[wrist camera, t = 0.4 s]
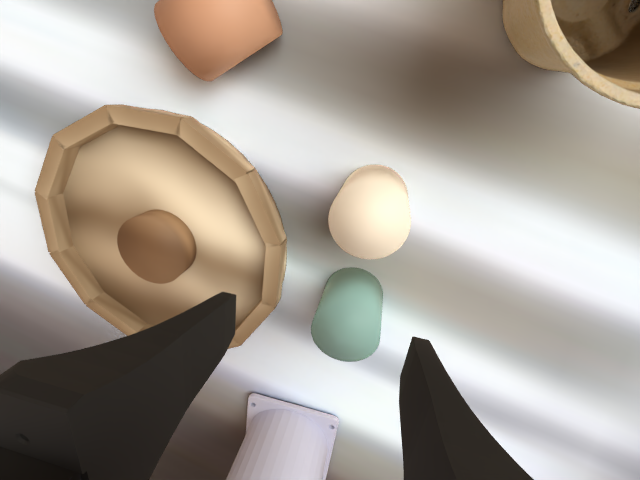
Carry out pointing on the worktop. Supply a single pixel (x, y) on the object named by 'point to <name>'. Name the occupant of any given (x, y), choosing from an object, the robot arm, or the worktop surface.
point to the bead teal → (349, 315)
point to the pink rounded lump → (216, 32)
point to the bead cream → (371, 213)
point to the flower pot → (581, 42)
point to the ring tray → (180, 192)
